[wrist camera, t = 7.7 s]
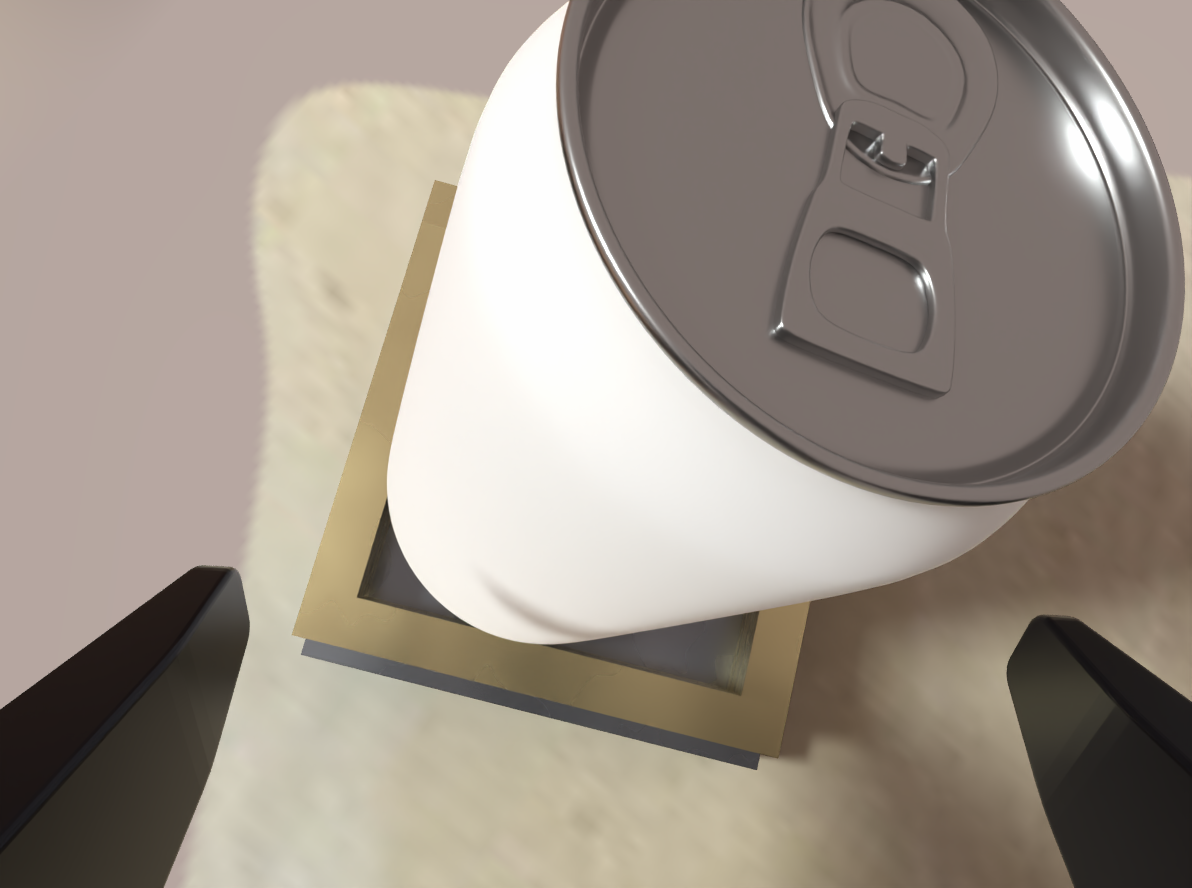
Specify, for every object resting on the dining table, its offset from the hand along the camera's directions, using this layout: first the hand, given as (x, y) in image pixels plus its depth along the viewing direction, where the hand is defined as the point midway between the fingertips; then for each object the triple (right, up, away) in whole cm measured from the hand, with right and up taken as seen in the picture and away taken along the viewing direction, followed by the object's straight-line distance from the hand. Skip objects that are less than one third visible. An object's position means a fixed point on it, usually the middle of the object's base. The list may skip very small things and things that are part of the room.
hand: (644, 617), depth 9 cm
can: (-2, +1, +8) cm, 8 cm away
